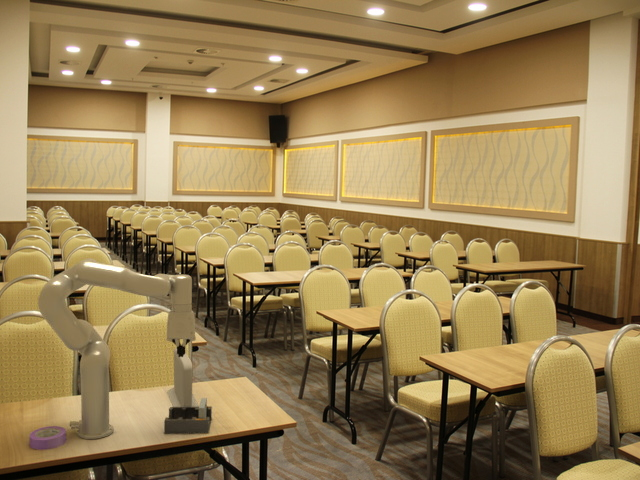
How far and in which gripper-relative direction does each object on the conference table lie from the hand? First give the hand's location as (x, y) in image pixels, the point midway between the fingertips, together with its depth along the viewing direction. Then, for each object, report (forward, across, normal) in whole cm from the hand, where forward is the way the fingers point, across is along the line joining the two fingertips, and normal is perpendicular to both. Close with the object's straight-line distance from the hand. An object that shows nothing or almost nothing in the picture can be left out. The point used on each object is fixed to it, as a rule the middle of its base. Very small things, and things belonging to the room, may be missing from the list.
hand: (181, 356), depth 226 cm
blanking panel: (+26, +8, 0) cm, 27 cm away
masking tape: (+28, -44, -13) cm, 54 cm away
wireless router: (+27, -3, +29) cm, 40 cm away
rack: (+27, +3, 0) cm, 27 cm away
